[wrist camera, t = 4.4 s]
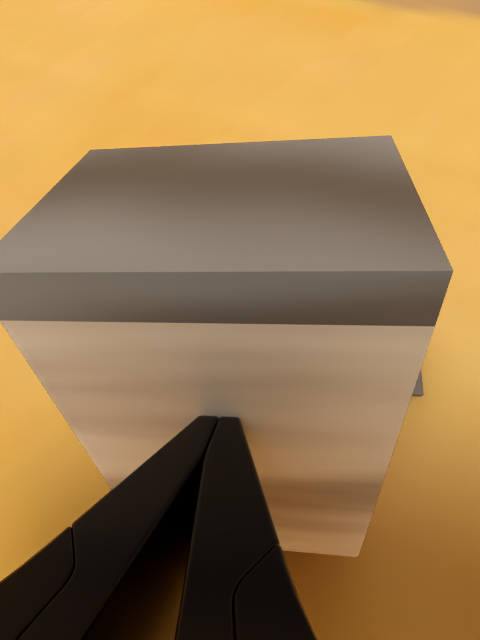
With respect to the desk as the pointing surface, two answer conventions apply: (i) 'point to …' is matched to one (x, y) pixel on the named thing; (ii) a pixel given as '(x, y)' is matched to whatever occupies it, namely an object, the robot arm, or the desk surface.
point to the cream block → (235, 312)
